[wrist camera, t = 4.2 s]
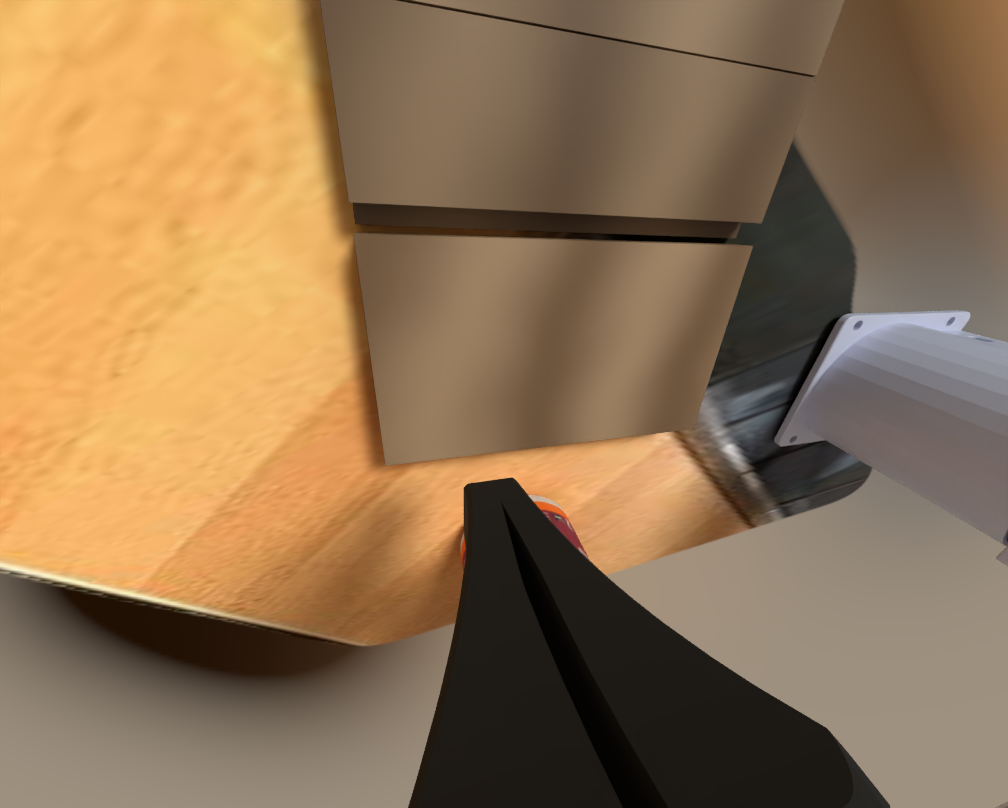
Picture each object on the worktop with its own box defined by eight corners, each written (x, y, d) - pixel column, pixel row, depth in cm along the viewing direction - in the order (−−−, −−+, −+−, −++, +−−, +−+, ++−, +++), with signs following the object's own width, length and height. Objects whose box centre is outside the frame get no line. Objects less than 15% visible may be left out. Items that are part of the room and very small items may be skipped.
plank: (727, 243, 14) (752, 245, 13) (676, 416, 18) (693, 428, 17) (357, 231, 11) (353, 233, 10) (386, 448, 15) (385, 465, 14)
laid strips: (845, -104, 10) (894, -136, 9) (729, 237, 14) (755, 241, 13) (283, -305, 7) (263, -392, 6) (356, 223, 11) (352, 227, 10)
